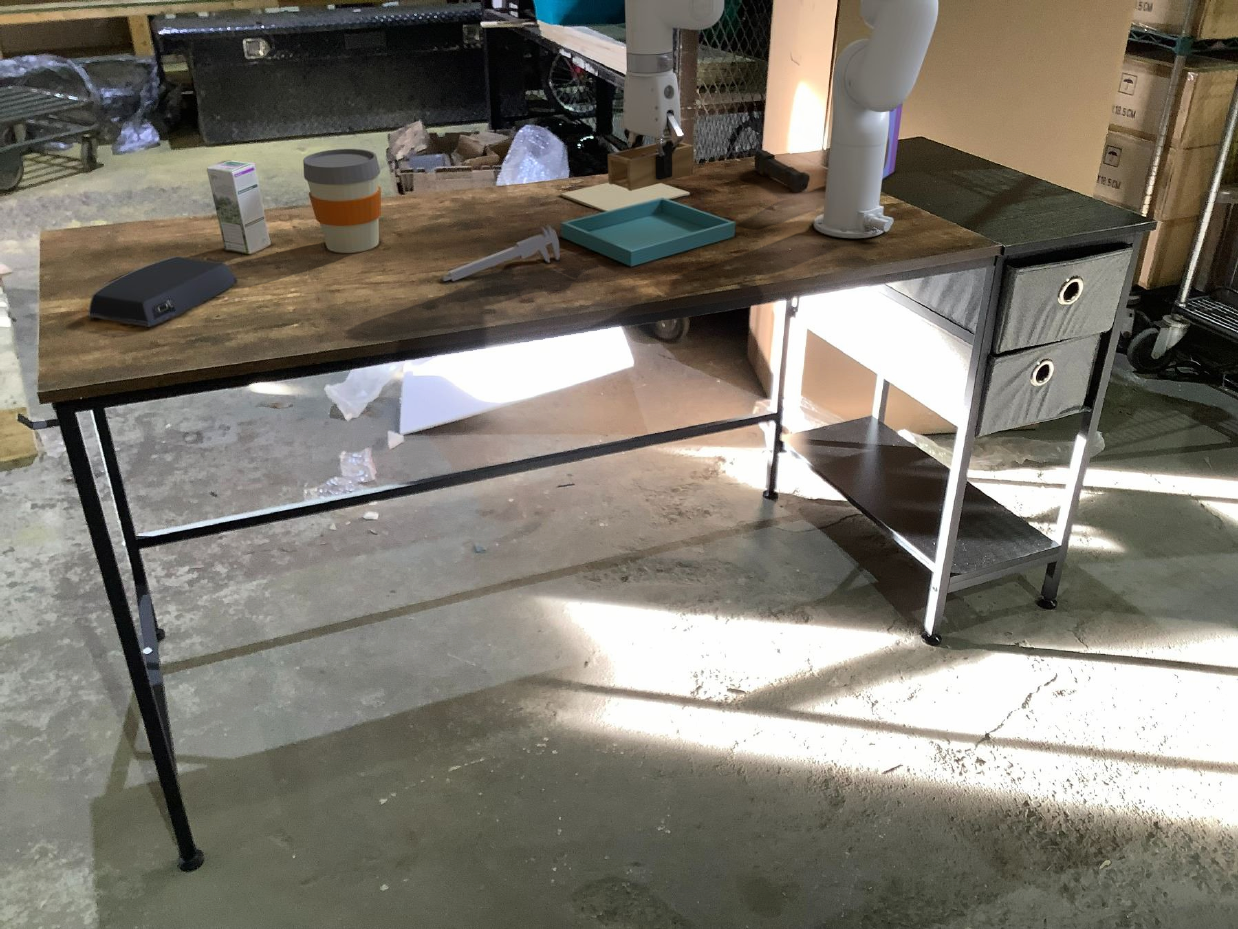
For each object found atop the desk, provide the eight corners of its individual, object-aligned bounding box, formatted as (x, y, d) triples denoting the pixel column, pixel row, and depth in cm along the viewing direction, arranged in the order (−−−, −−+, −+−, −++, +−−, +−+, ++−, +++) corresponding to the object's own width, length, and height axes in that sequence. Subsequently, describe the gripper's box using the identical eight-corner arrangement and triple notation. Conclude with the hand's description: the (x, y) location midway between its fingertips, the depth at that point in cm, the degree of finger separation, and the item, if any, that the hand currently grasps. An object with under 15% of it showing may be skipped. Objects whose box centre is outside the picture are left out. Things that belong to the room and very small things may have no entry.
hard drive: (85, 318, 151) (77, 292, 149) (177, 274, 166) (172, 250, 164) (154, 331, 147) (147, 304, 145) (242, 285, 162) (237, 260, 160)
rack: (693, 174, 177) (693, 145, 174) (630, 190, 169) (629, 160, 167) (670, 167, 181) (670, 139, 178) (608, 183, 174) (607, 153, 171)
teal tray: (734, 237, 180) (735, 222, 179) (631, 267, 168) (631, 251, 166) (662, 211, 193) (662, 197, 192) (561, 237, 181) (560, 222, 179)
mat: (689, 194, 202) (689, 192, 202) (610, 214, 192) (610, 212, 191) (638, 177, 213) (638, 175, 213) (560, 195, 203) (560, 193, 202)
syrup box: (272, 244, 179) (256, 161, 171) (248, 255, 174) (231, 170, 167) (247, 240, 181) (230, 158, 173) (223, 251, 176) (204, 166, 169)
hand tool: (809, 191, 203) (811, 168, 201) (791, 193, 202) (793, 170, 200) (766, 168, 219) (768, 146, 216) (749, 170, 218) (751, 147, 215)
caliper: (557, 259, 171) (555, 222, 168) (559, 261, 170) (558, 224, 167) (442, 280, 163) (438, 242, 160) (444, 283, 162) (440, 245, 159)
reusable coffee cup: (403, 243, 179) (393, 156, 171) (342, 261, 171) (328, 171, 163) (361, 227, 186) (350, 144, 178) (301, 245, 178) (286, 158, 171)
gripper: (702, 66, 161) (701, 179, 171) (633, 53, 173) (636, 160, 183) (666, 73, 158) (667, 188, 167) (598, 59, 169) (603, 168, 179)
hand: (651, 173), depth 175 cm, fingers closed on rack, 6 cm apart
